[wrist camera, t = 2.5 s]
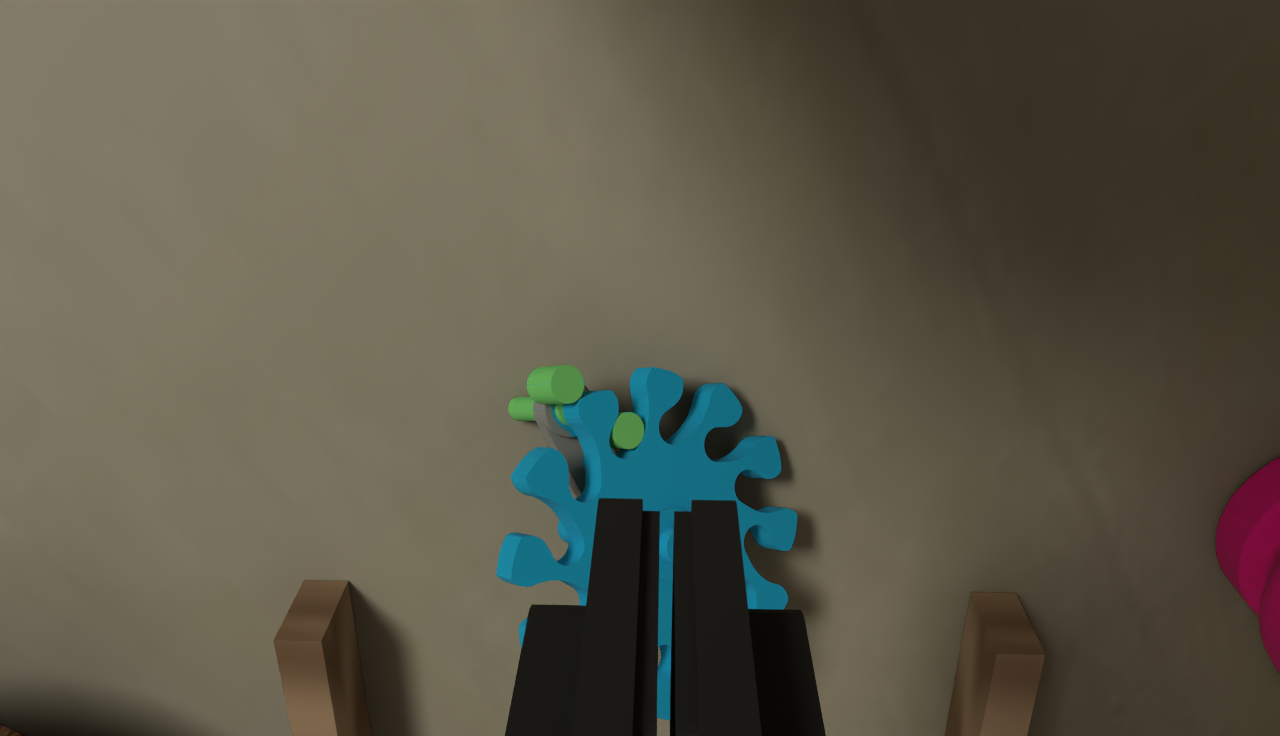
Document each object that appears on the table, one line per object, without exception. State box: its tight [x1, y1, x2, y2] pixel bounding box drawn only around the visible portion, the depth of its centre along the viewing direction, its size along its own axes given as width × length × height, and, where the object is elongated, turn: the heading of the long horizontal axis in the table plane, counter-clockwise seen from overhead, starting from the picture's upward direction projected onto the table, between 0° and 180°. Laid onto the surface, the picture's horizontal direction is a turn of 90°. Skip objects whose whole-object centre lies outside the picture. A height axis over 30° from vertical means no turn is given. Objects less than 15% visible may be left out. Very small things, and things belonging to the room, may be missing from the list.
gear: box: [497, 365, 797, 720], centre depth 31 cm, size 11×6×10 cm
